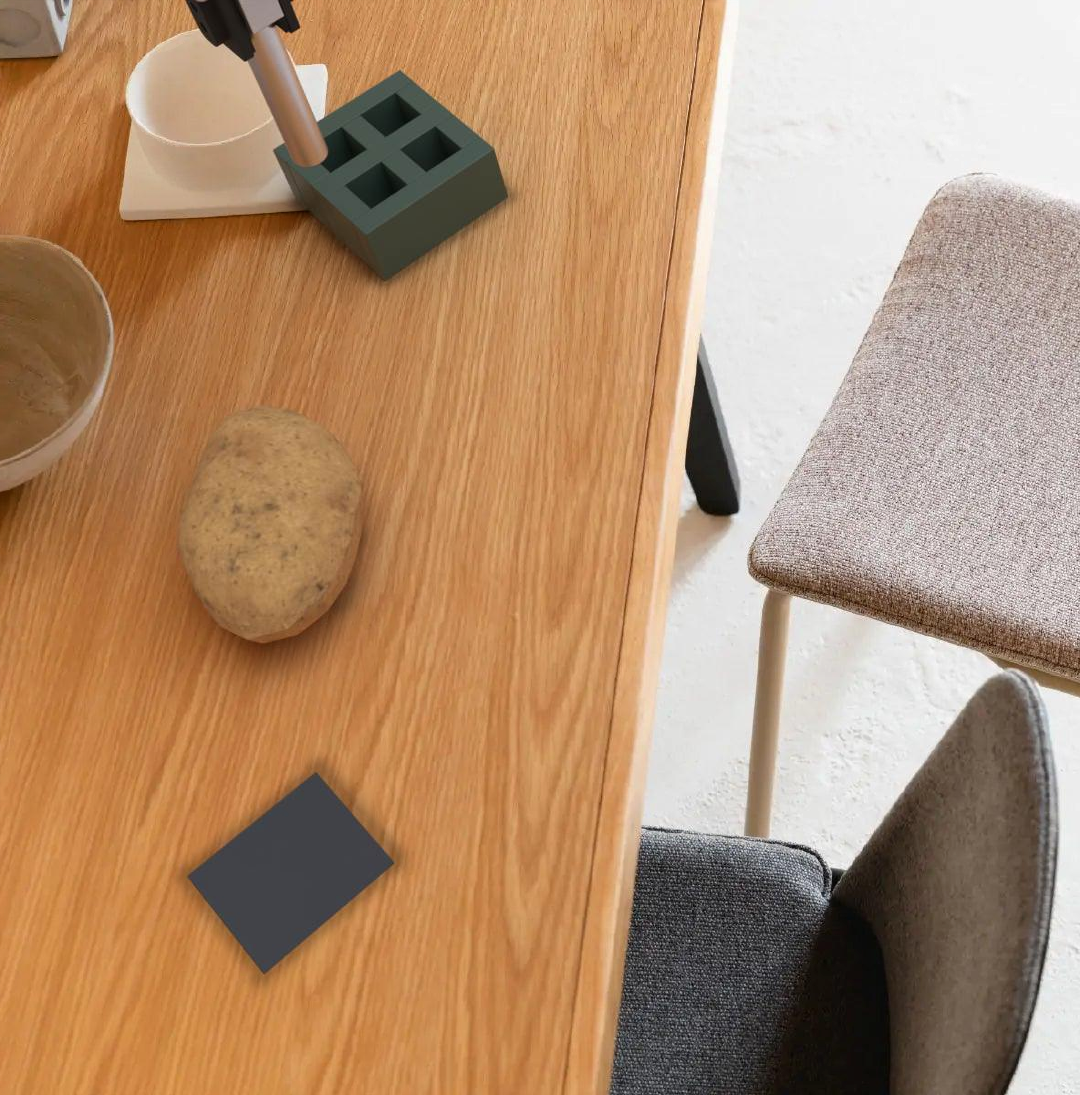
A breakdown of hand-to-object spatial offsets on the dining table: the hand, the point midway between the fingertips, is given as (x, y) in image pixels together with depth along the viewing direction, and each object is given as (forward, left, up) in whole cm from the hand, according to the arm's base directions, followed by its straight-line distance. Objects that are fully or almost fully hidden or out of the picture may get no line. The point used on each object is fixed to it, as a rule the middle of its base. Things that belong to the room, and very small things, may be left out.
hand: (255, 29), depth 73 cm
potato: (+11, -14, -23) cm, 29 cm away
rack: (-7, +7, -23) cm, 25 cm away
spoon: (0, 0, -9) cm, 9 cm away
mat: (+26, -25, -23) cm, 43 cm away
